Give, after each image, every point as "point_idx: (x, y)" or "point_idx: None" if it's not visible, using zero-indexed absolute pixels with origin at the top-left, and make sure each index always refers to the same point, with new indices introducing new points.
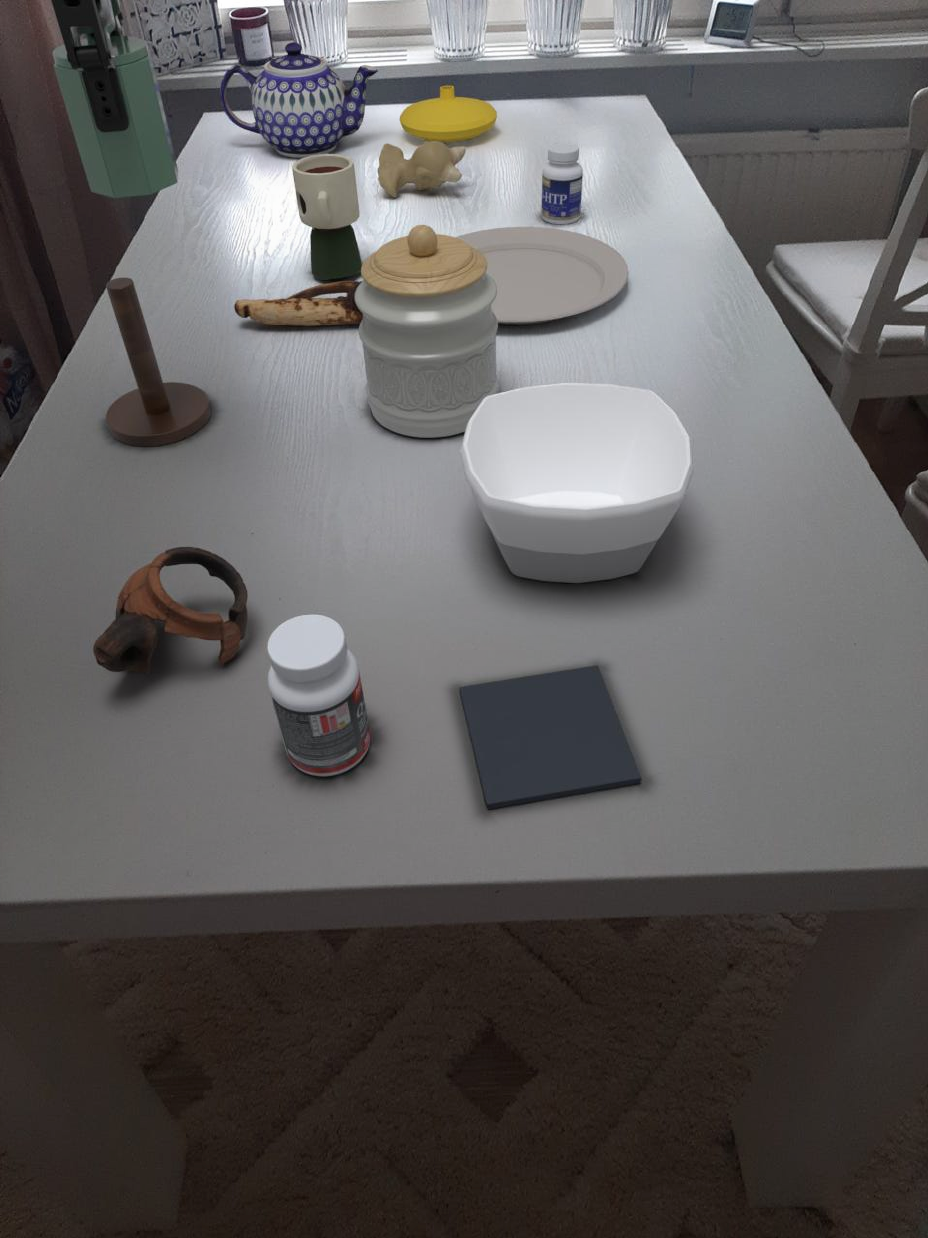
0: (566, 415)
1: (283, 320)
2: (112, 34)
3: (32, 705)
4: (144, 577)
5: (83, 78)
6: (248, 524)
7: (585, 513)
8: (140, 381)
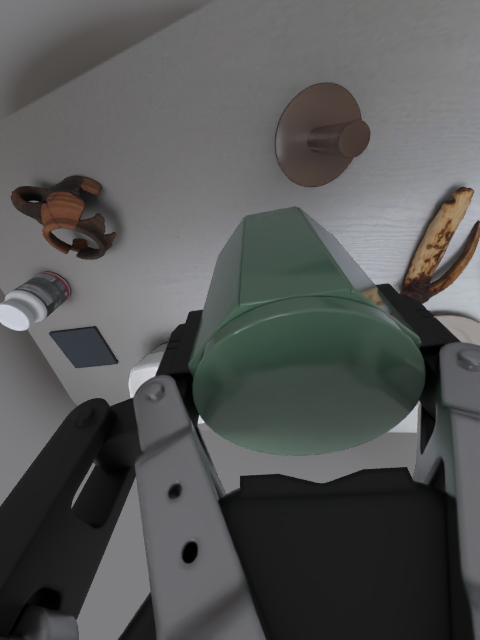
0: None
1: (427, 230)
2: (424, 406)
3: (15, 132)
4: (57, 216)
5: (172, 366)
6: (185, 233)
7: (130, 395)
8: (315, 134)
